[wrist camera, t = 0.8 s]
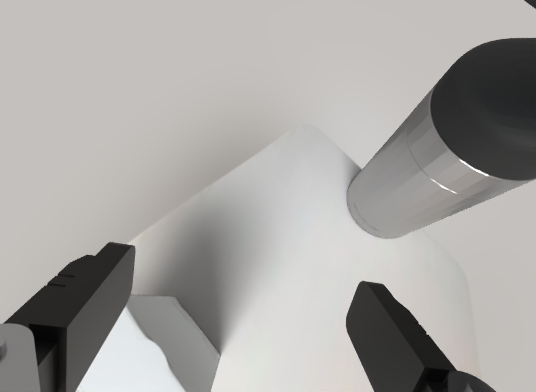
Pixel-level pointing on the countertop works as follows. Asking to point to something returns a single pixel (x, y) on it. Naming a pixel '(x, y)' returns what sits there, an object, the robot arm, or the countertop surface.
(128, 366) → the skincare box
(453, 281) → the countertop surface
